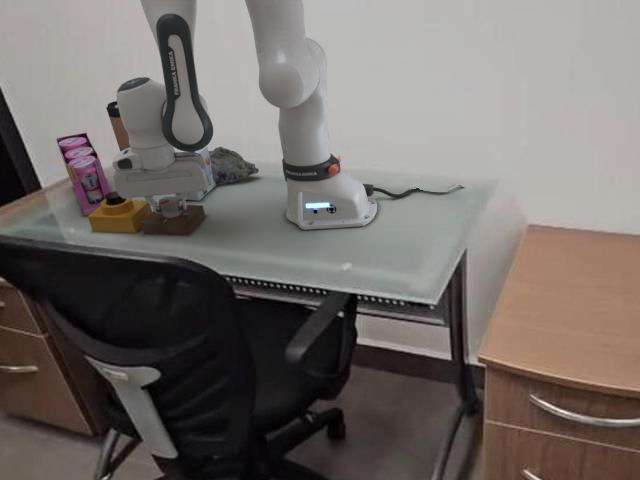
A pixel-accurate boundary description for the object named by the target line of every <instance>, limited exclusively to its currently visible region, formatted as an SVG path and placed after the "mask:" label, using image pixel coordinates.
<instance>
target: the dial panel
mask: <svg viewBox="0 0 640 480" xmlns="http://www.w3.org/2000/svg"><path fill="white" fill-rule="evenodd" d="M205 218H206V213H205V209H204V206H203V205H202V204H198V205H197V204H187V209H186V210H182V213H181V214H180V215H179V216H177V217H173V218H165V217H163V215H162V212H157V213H155V212H154V210H152V213H151V214H150V215H149V216H148V217H147V218H146V219H145V220H144V221H143V222H141V225H142V227H141V228H142V230H143V233H144V235H156V236H157V235H158V236H159V235H160V236H161V235H162V236H190V234H191V233H192V232H193V231H194V230H195V229H196V228H197V226H198V225H199V224H200V223H201V222H202V221H203V220H204V219H205Z"/></svg>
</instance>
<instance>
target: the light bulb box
mask: <svg viewBox="0 0 640 480" xmlns="http://www.w3.org/2000/svg"><path fill="white" fill-rule="evenodd" d="M209 151H210V150H209V148H208V146H206V147H204V148H203V149H201V150H199V151H195V152H196V153H199V154H201V155H202V156H203V158H204V161H205V170H206V173H207V176H208V179H209V186H208V188H207V189H206V191H198V192H188V196H187V199H186V201H200V200H202V199H203V198H204V197H205V196H206V195H207V194H209V192H211V191H212V190H213V189H214V188H215V187H216V186H217V184H216V183H215V182H214V181H213V176H212V170H211V160H210V156H209ZM177 152H185V151H181V150H178V151H177ZM196 155H197V154H196ZM175 197H177V198H178V200H179V201H183V198H184V196H183V197H181V195H180V193H177V194H175Z"/></svg>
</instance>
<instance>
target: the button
mask: <svg viewBox="0 0 640 480" xmlns="http://www.w3.org/2000/svg"><path fill="white" fill-rule="evenodd" d="M105 199H106V201H107V204H108V205H118V204H121V203H123V202H125V199H123V198H122V197H120V196H119V195H118V193H117V190H114V191H111V192H110V193H108V194H106V195H105Z"/></svg>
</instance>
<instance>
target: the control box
mask: <svg viewBox="0 0 640 480" xmlns="http://www.w3.org/2000/svg"><path fill="white" fill-rule="evenodd" d="M152 212H153V209H152V206H151V205H150V204H149V203H148V202H147V201H146V200H133V198H125V202H123V203H121V204H118V205H108V204H107V201H106V199H104V200H103V201H102V202H101V206H99V207H98V208H97V209H96V210H95V211H93V212H92V213H91V214H90V215H86V216H87V219H88V222H89V225H90V227H91V230H92V232H103V233H104V232H105V233H129V234H130V233H132V234H136V233H138V231H139V230H141V228H142V225H141V222H143V221H144V220H145V219H146V218H147V217H148V216H149V215H150V214H151V213H152Z"/></svg>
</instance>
